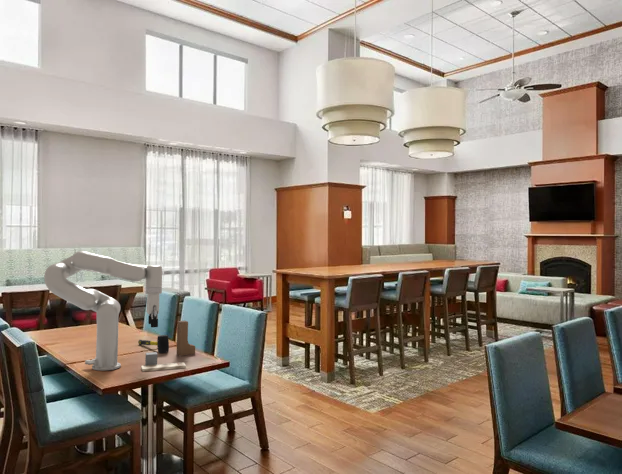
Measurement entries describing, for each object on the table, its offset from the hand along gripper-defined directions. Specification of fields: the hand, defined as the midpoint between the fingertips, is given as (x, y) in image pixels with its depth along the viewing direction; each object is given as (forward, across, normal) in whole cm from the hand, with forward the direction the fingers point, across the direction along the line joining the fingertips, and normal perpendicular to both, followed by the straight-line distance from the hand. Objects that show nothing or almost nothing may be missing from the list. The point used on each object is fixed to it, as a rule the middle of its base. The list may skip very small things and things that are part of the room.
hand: (153, 325), depth 237 cm
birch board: (+20, +6, +4) cm, 21 cm away
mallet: (+20, -37, +4) cm, 42 cm away
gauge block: (+20, 0, 0) cm, 20 cm away
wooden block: (+20, -18, +20) cm, 33 cm away
